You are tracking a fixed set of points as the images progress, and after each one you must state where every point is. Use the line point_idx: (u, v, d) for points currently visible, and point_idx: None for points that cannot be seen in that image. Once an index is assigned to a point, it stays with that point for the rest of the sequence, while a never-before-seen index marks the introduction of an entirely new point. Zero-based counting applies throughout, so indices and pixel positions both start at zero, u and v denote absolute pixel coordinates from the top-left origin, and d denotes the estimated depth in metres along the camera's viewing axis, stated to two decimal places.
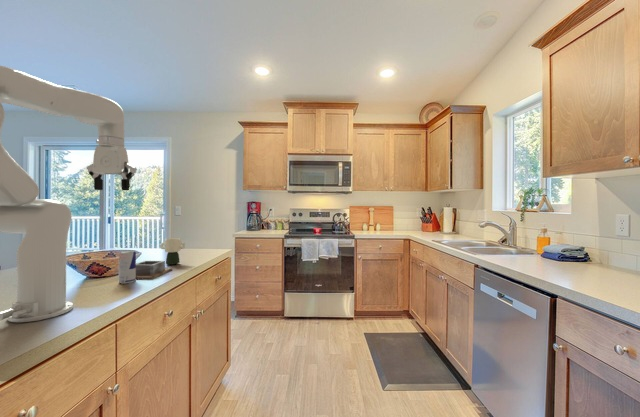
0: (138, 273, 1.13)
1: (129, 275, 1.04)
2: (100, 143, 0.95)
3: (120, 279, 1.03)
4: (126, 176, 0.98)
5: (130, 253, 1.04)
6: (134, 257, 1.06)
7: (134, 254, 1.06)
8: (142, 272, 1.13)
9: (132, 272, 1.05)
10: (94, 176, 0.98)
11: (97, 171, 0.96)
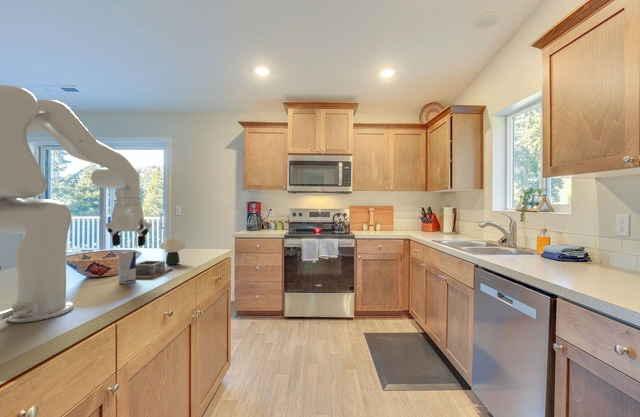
0: (138, 273, 1.13)
1: (129, 275, 1.04)
2: (118, 204, 1.02)
3: (120, 279, 1.03)
4: (142, 233, 1.05)
5: (130, 253, 1.04)
6: (134, 257, 1.06)
7: (134, 254, 1.06)
8: (142, 272, 1.13)
9: (132, 272, 1.05)
10: (112, 233, 1.05)
11: (115, 229, 1.03)
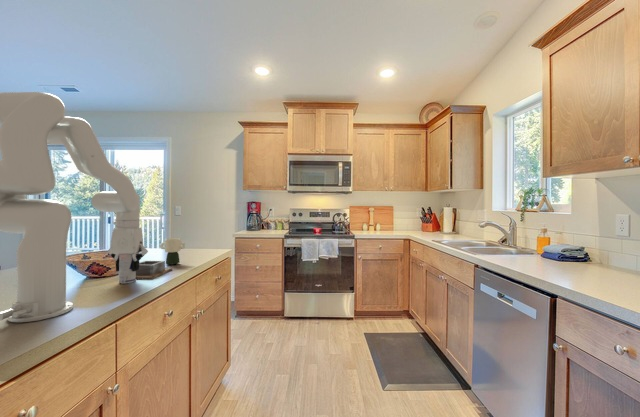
0: (138, 273, 1.13)
1: (129, 275, 1.04)
2: (117, 227, 1.02)
3: (120, 278, 1.03)
4: (136, 258, 1.05)
5: None
6: None
7: None
8: (142, 272, 1.13)
9: (132, 272, 1.05)
10: (116, 258, 1.04)
11: (114, 252, 1.03)
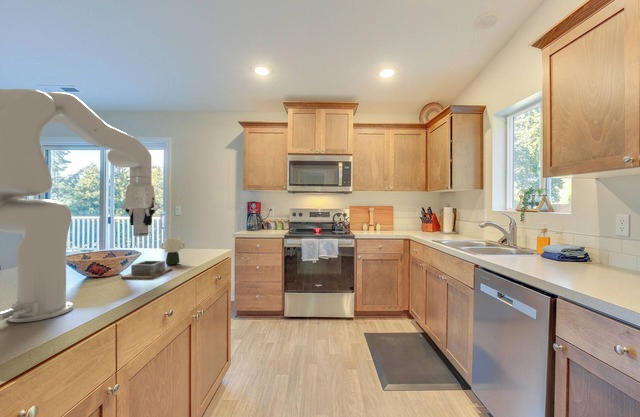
0: (138, 273, 1.13)
1: (142, 229, 1.11)
2: (131, 182, 1.09)
3: (134, 232, 1.10)
4: (149, 213, 1.11)
5: None
6: None
7: None
8: (142, 272, 1.13)
9: (145, 226, 1.12)
10: (130, 213, 1.11)
11: (129, 207, 1.10)
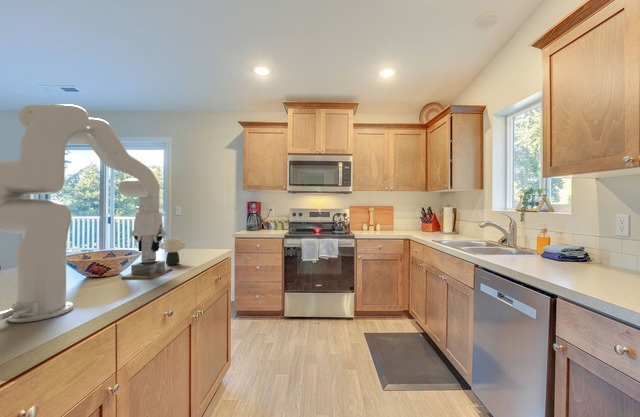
0: (138, 273, 1.13)
1: (150, 255, 1.16)
2: (140, 211, 1.14)
3: (142, 258, 1.15)
4: (157, 239, 1.16)
5: None
6: None
7: None
8: (142, 272, 1.13)
9: (153, 252, 1.17)
10: (138, 240, 1.16)
11: (137, 234, 1.15)
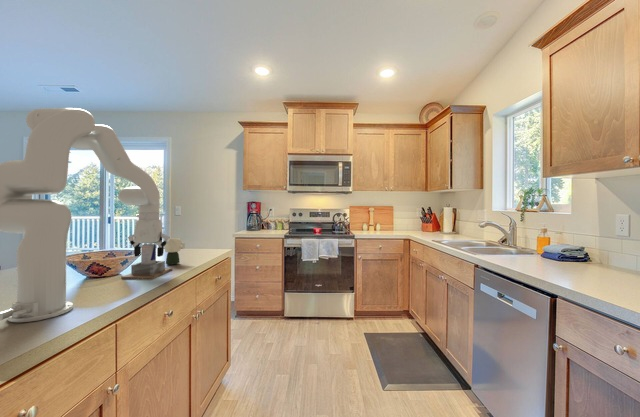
0: (138, 273, 1.13)
1: None
2: (140, 219, 1.14)
3: None
4: (161, 245, 1.17)
5: (151, 246, 1.16)
6: (154, 249, 1.18)
7: (154, 247, 1.18)
8: (142, 272, 1.13)
9: (153, 263, 1.17)
10: (134, 245, 1.16)
11: (137, 241, 1.15)
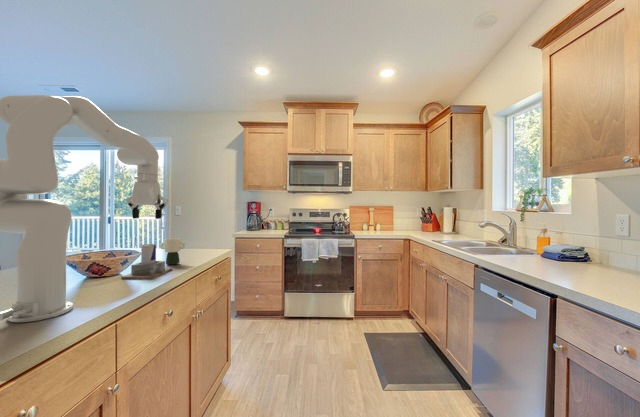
0: (138, 273, 1.13)
1: None
2: (139, 180, 1.13)
3: None
4: (159, 207, 1.16)
5: (151, 246, 1.16)
6: (154, 249, 1.18)
7: (154, 247, 1.18)
8: (142, 272, 1.13)
9: (153, 263, 1.17)
10: (132, 207, 1.15)
11: (135, 203, 1.14)
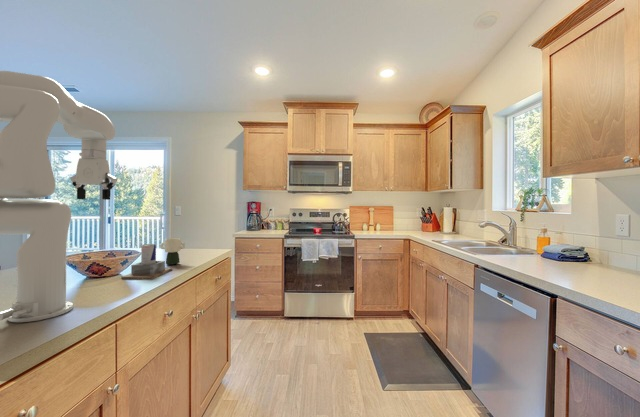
0: (138, 273, 1.13)
1: None
2: (83, 156, 1.02)
3: None
4: (107, 186, 1.05)
5: (151, 246, 1.16)
6: (154, 250, 1.17)
7: (154, 247, 1.17)
8: (142, 272, 1.13)
9: (153, 263, 1.17)
10: (77, 186, 1.05)
11: (79, 182, 1.03)
